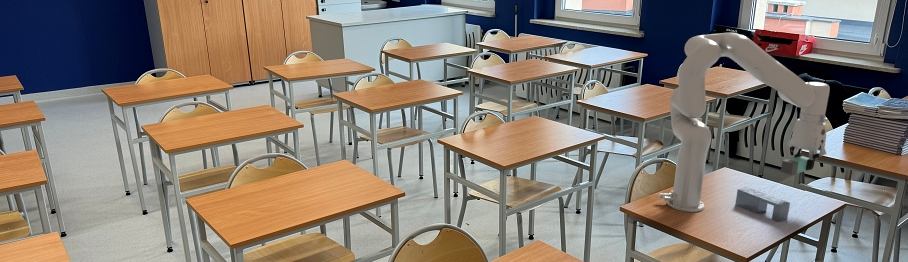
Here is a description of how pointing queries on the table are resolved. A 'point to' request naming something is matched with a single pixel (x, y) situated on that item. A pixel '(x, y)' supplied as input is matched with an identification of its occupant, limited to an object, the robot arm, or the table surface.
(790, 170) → the plug
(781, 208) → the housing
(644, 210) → the table surface
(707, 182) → the table surface
